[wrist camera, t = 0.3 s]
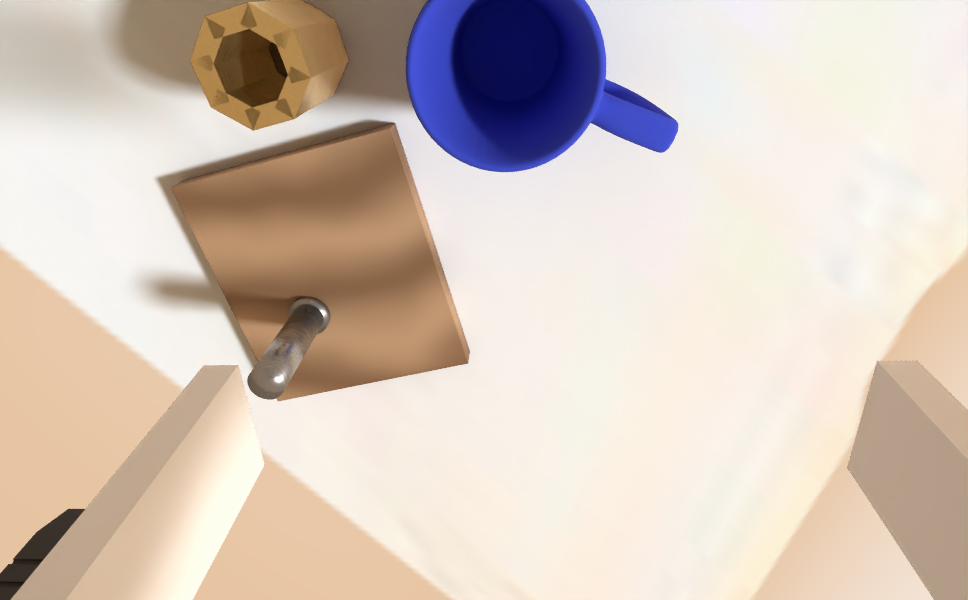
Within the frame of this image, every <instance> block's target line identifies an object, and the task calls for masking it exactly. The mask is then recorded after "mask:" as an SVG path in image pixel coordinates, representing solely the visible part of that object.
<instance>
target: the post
mask: <svg viewBox="0 0 968 600" xmlns="http://www.w3.org/2000/svg"><path fill="white" fill-rule="evenodd" d="M288 317H289V318H288V320H287V321H286V323H285V324H284V326H283V327H282V328H281V330H280V331H279V333H278V334H277V336H276V337H275V338H274V340H273V341H272V343H271V344H270V346H269V347H268V349H267V350H266V351H265V353H264V354H263V356H262V357H261V359H260V360H259V361H258V363H257V364H256V366H255V367H254V369H253V370H252V372H251V373H250V374H249V376H248V386H249V388H250V390H251V391H252V392H253V393H254V394H255V395H257V396H258V397H261V398H263V399H275V398H278V397H279V396H281V394H282V393H283V391H284V390H285V388H286V386H287V385H288V383H289V381H290V379H291V378H292V376H293V374H294V373H295V371H296V369H297V367H298V366H299V364H300V362H301V361H302V359H303V357H304V356H305V354H306V352H307V350H308V349H309V347H310V345H311V344H312V342H313V340H314V338H315V337H316V335H317V334H319V333H321V332H323V331H324V330H325V329H326V327H327V325H328V324H329V322H330V311H329V309H328V307H327V306H326V304H325V303H324V302H322V301H321V300H319V299H317V298H315V297H311V296H305V297H301V298H298V299H297V300H296V301H295V302H294V303H293V304H292V306H291V307H290V309H289V312H288Z"/></svg>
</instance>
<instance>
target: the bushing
mask: <svg viewBox="0 0 968 600" xmlns="http://www.w3.org/2000/svg"><path fill="white" fill-rule="evenodd" d="M271 42H273V43H274V44H276V45H277V47H278V50H279V53H280V55H281V58H282V60H283V63H284V66H285V68H286V71H287V73H288V76H287V78H286V77H284V76H282V75H280V74H279V73H278V72H277V70H276V67H275V65H274V62H273V59H272V57H271V54H270V52H269V49H268V48H269V46H270V43H271ZM348 61H349V59H348V56H347V53H346V50H345V47H344V45H343V42H342V39H341V36H340V33H339V30H338V27H337V24H336V21H335V19H333V18H331V17H330V16H328V15H326V14H325V13H323V12H321V11H320V10H318V9H316V8H315V7H313V6H311V5H310V4H308V3H306V2H305V1H303V0H268V1H257V2H247V3H244V4H241V5H238V6H235V7H232V8H229V9H225V10H222V11H219V12H216V13H213V14H210V15H207V16H204V19H203V22H202V25H201V28H200V32H199V35H198V38H197V41H196V44H195V47H194V50H193V53H192V56H191V59H190V62H191V64H192V66H193V68H194V71H195V73H196V75H197V77H198V80H199V82H200V84H201V86H202V88H203V91H204V93H205V95H206V97H207V100H208V102H209V104H210V106H211V108H213V109H215V110H217V111H219V112H220V113H222V114H224V115H226V116H228V117H230V118H231V119H233V120H235V121H237V122H239V123H240V124H242V125H244V126H246V127H248V128H250V129H251V130H257V129H260V128H264V127H267V126H271V125H275V124H278V123H282V122H285V121H289V120H292V119H295V118H297V117H298V116H300V115H302V114H303V113H305V112H306V111H308V110H310V109H311V108H313V107H315V106H316V105H318V104H320V103H321V102H323V101H325V100H326V99H328V98H329V97H331V96H333V95H334V93H335V91H336V89H337V86H338V84H339V82H340V80H341V77H342V75H343V73H344V70H345V68H346V66H347V64H348Z"/></svg>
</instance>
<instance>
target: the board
mask: <svg viewBox="0 0 968 600" xmlns="http://www.w3.org/2000/svg"><path fill="white" fill-rule="evenodd" d="M171 189H172V191H173V193H174V195H175V197H176V199H177V201H178V203H179V205H180V207H181V209H182V211H183V213H184V215H185V217H186V219H187V221H188V223H189V225H190V227H191V229H192V231H193V233H194V235H195V237H196V239H197V241H198V243H199V245H200V247H201V249H202V251H203V253H204V255H205V257H206V259H207V261H208V263H209V265H210V267H211V269H212V271H213V273H214V275H215V277H216V279H217V281H218V283H219V285H220V287H221V289H222V291H223V293H224V295H225V297H226V299H227V301H228V303H229V305H230V307H231V309H232V311H233V313H234V315H235V317H236V319H237V321H238V323H239V325H240V327H241V329H242V331H243V333H244V335H245V337H246V339H247V341H248V343H249V345H250V347H251V349H252V351H253V353H254V355H255V357H256V359H257V361H259V360H260V359H261V357H262V356H263V354H264V353H265V351H266V350H267V349H268V347H269V346H270V344H271V343H272V341H273V340H274V338H275V337H276V336H277V334H278V333H279V331H280V330H281V328H282V327H283V326H284V324H285V323H286V321H287V320H288V318H289V317H288V312H289V309H290V307H291V306H292V304H293V303H294V302H295V301H296V300H297V299H298V298H301V297H305V296H311V297H315V298H317V299H319V300H321V301H322V302H324V303H325V304H326V306H327V307H328V309H329V311H330V322H329V324H328V325H327V327H326V329H325V330H324V331H323V332H321V333H319V334H317V335H316V337H315V338H314V340H313V342H312V344H311V345H310V347H309V349H308V350H307V352H306V354H305V356H304V357H303V359H302V361H301V362H300V364H299V366H298V367H297V369H296V371H295V373H294V374H293V376H292V378H291V379H290V381H289V383H288V385H287V386H286V388H285V390H284V391H283V393H282V394H281V396H279V397H278V398H277V400H278V401H282V400H287V399H292V398H297V397H302V396H307V395H312V394H317V393H322V392H327V391H332V390H337V389H342V388H347V387H352V386H357V385H362V384H367V383H372V382H377V381H382V380H387V379H392V378H397V377H402V376H407V375H412V374H417V373H422V372H427V371H432V370H437V369H442V368H447V367H452V366H457V365H462V364H467V363H468V360H469V353H470V351H469V348H468V345H467V342H466V339H465V336H464V333H463V329H462V326H461V323H460V320H459V317H458V314H457V311H456V308H455V305H454V302H453V299H452V296H451V293H450V290H449V287H448V284H447V281H446V277H445V274H444V271H443V268H442V265H441V262H440V259H439V256H438V253H437V250H436V247H435V244H434V241H433V238H432V235H431V232H430V229H429V225H428V222H427V219H426V216H425V213H424V210H423V207H422V204H421V201H420V198H419V195H418V192H417V189H416V186H415V183H414V180H413V177H412V173H411V170H410V167H409V164H408V161H407V158H406V155H405V152H404V149H403V146H402V143H401V140H400V137H399V134H398V131H397V128H396V125H395V123H393V124H390V125H386V126H382V127H379V128H375V129H371V130H368V131H364V132H360V133H357V134H353V135H349V136H346V137H342V138H338V139H335V140H331V141H327V142H324V143H320V144H316V145H313V146H309V147H305V148H302V149H298V150H294V151H291V152H287V153H283V154H280V155H276V156H272V157H269V158H265V159H261V160H258V161H254V162H250V163H247V164H243V165H239V166H236V167H232V168H228V169H225V170H221V171H217V172H214V173H210V174H206V175H203V176H199V177H195V178H192V179H188V180H184V181H182V182H180V183H178V184H177V185H175V186H173V187H172V188H171Z"/></svg>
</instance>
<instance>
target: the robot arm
mask: <svg viewBox="0 0 968 600" xmlns="http://www.w3.org/2000/svg"><path fill="white" fill-rule="evenodd" d="M263 467H264V461H263V458H262V454H261V450H260V446H259V442H258V438H257V434H256V431H255V427H254V423H253V419H252V415H251V412H250V408H249V404H248V400H247V396H246V393H245V389H244V385H243V381H242V377H241V374H240V370H239V366H238V365H218V366H203V367H202V368H201V370H200V371H199V372H198V373H197V374H196V376H195V377H194V378H193V379H192V381H191V382H190V383H189V384H188V385H187V387H186V388H185V389H184V390H183V391H182V393H181V394H180V395H179V396H178V398H177V399H176V400H175V401H174V402H173V404H172V405H171V406H170V407H169V408H168V410H167V411H166V412H165V413H164V415H163V416H162V417H161V418H160V419H159V421H158V422H157V423H156V424H155V425H154V427H153V428H152V429H151V430H150V431H149V433H148V434H147V435H146V436H145V438H144V439H143V440H142V441H141V442H140V444H139V445H138V446H137V447H136V449H135V450H134V451H133V452H132V453H131V455H130V456H129V457H128V458H127V459H126V461H125V462H124V463H123V464H122V465H121V467H120V468H119V469H118V470H117V471H116V473H115V474H114V475H113V476H112V477H111V479H110V480H109V481H108V483H107V484H106V485H105V486H104V487H103V488H102V490H101V491H100V492H99V493H98V494H97V496H96V497H95V498H94V499H93V500H92V502H91V503H90V504H89V505H88V507H87V508H86V509H68V510H66V511H65V512H64V513H62V514H61V515H60V516H58V517H57V518H56V519H54V520H53V521H51V522H50V523H48V524H47V525H46V526H44V527H43V528H42V529H40V530H39V531H38V532H36V534H35V535H34V536H33V537H32V538H31V539H30V540H29V541H28V543H27V544H26V545H25V546H24V547H23V548H22V549H21V551H20V552H19V553H18V554H17V555H16V556H15V558H14V559H13V560H14V561H13V563H12V564H8V565H7V567H6V568H5V569H4V570H3V571H2V572H1V573H0V600H193V598H194V596H195V594H196V592H197V590H198V588H199V587H200V585H201V582H202V581H203V579H204V577H205V575H206V573H207V571H208V570H209V568H210V566H211V564H212V562H213V560H214V558H215V557H216V555H217V553H218V551H219V549H220V547H221V545H222V543H223V541H224V540H225V538H226V536H227V534H228V532H229V530H230V528H231V527H232V525H233V523H234V521H235V519H236V517H237V515H238V513H239V512H240V510H241V508H242V506H243V504H244V502H245V500H246V498H247V497H248V495H249V493H250V491H251V489H252V487H253V485H254V483H255V481H256V480H257V478H258V476H259V474H260V472H261V470H262V468H263ZM848 470H849V471H850V473H851V474H852V476H853V477H854V479H855V480H856V482H857V483H858V485H859V486H860V488H861V489H862V491H863V492H864V494H865V495H866V497H867V498H868V500H869V501H870V503H871V504H872V506H873V508H874V509H875V511H876V512H877V513H878V515H879V517H880V518H881V520H882V521H883V523H884V524H885V526H886V527H887V529H888V530H889V532H890V533H891V535H892V536H893V538H894V539H895V541H896V542H897V544H898V546H899V547H900V549H901V550H902V552H903V553H904V555H905V556H906V558H907V559H908V561H909V562H910V564H911V565H912V567H913V568H914V570H915V571H916V573H917V574H918V576H919V577H920V579H921V581H922V582H923V584H924V585H925V587H926V588H927V590H928V591H929V593H930V594H931V596H932V597H933V599H934V600H968V410H967V409H966V408H965V407H964V406H963V405H962V404H961V403H960V402H959V401H958V400H957V399H956V398H955V397H954V396H953V395H952V394H951V393H950V392H949V391H948V390H947V389H946V388H945V387H944V386H943V385H941V383H940V382H939V381H938V380H937V379H935V378H934V377H933V376H932V375H931V374H930V373H929V372H928V371H927V370H926V369H925V368H924V367H923V366H922V365H921V364H920V363H919V362H918V361H877V363H876V367H875V371H874V374H873V378H872V381H871V385H870V388H869V392H868V395H867V399H866V403H865V406H864V410H863V413H862V417H861V420H860V424H859V428H858V431H857V435H856V438H855V442H854V445H853V449H852V452H851V456H850V460H849V463H848Z"/></svg>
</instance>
